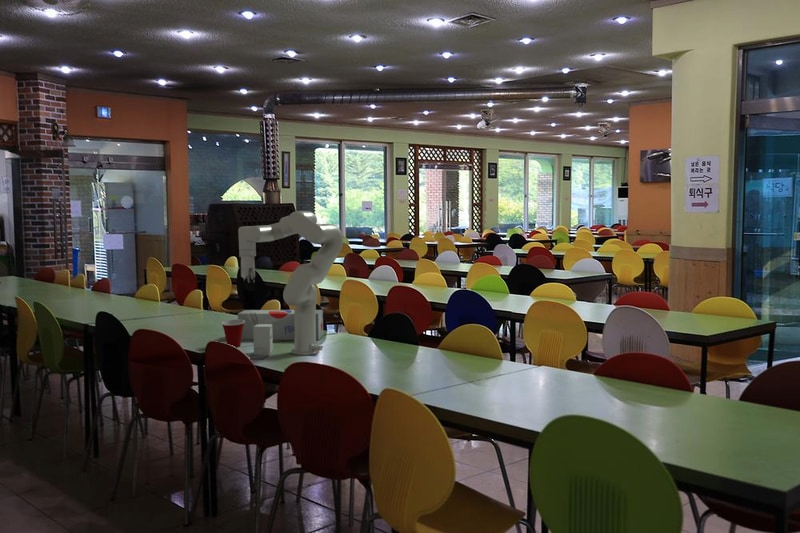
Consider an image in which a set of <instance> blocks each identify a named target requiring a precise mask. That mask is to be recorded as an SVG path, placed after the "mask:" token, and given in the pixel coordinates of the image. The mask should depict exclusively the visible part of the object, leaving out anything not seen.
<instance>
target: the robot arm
mask: <svg viewBox="0 0 800 533" xmlns="http://www.w3.org/2000/svg"><path fill="white" fill-rule="evenodd" d="M237 232H238V247H239V248H238V250H239V257H240V277H241V278H243V279H242V280H243V281H242V282H243V290H247V291H248V292H255V291H256V282H255V278H256V266H255V265H256V264H255V257H256V256H257V244H256V243H266V242H273V241H276V240H280V239H284V238H287V237H290V236H293V235H296V234H298V236H300V237H302V238H303V239H305V240H306V241H308V242H310V243H312V244H315V245H322V246H321V247H320V248H319V249H318V250H317V252H316V253H315V255H314V256H313V258H312V260H311V261H310V262H309V263H302V264H300V265H299V266H297V267H296V269H295V270H294V271H293V272H292V274H291V276H290V278H289V279H288V281H287V283H286V285H285V287H284V289H283V292H282V296H283V301H284V302H285V304H286V305H289V306H291V307H292V306H293V307H294V309H293V310H294V340H293V341H294V348H292V349H291V350H290V353H291V354H293V355H297V356H310V355H317V354H319V353H320V352H321V351H322V350H323V348H324V346H323V345H319V342H317V340H316V310H317V308H316V307H317V300H318V288H317V287H316V285H318V284H321V283H322V282H323V281H324V280H325V278H326V276H327V275H328V274H329V272H330V270H331V268H332V266H333V264H334V262H335V261H336V259H337V258H338V256H339V255H340V252H341V251H342V249H343V247H344V246H343V245H344V235H343V232H342V230H341V229H340V228H339V227H338V226H337V225H335V224H334V223H333V224H332V223H318V218H317V216H316V214H315V213H313V212H312V211H309V210H296V211H293V212H292V213H290V214H289V215H287V216H284V217H281V218H280V219H279V222H275V223H271V224H268V225H267V224H266V225H264V224H263V225H251V226H248V225H247V226H240V227H239V228H238V231H237Z"/></svg>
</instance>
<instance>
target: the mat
mask: <svg viewBox="0 0 800 533" xmlns="http://www.w3.org/2000/svg"><path fill="white" fill-rule="evenodd" d="M248 356H249V357H250V359H251V360H252V361H255V360H256V361H264V360H265V359H266V358H268V357H269V356H270V355H255V354H254V353H253V354H250V355H248ZM251 360H250V361H251Z"/></svg>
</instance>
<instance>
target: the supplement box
mask: <svg viewBox="0 0 800 533" xmlns="http://www.w3.org/2000/svg"><path fill="white" fill-rule="evenodd" d="M253 331H254V340H253V354H255V355H269V356H270V354H271V353H273V351H274V350H273V349H274V348H273V343H274V342H273V341H274V340H273V335H272V324H257V325H255V326H254V327H253Z"/></svg>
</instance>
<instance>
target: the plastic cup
mask: <svg viewBox="0 0 800 533" xmlns="http://www.w3.org/2000/svg"><path fill="white" fill-rule="evenodd" d="M244 323H245V321H244V320H238V319H229V320H228V319H227V320H224V321H222V322H221V323H220V324H221V325H222V328H223V330H224V331H223V332H224V336H225V337H224V338H225V341H226V345H227V344H230V345H233V346H235V347H236V348H240V347H241V343H242V340H241V339H242V332H243V326H244Z"/></svg>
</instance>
